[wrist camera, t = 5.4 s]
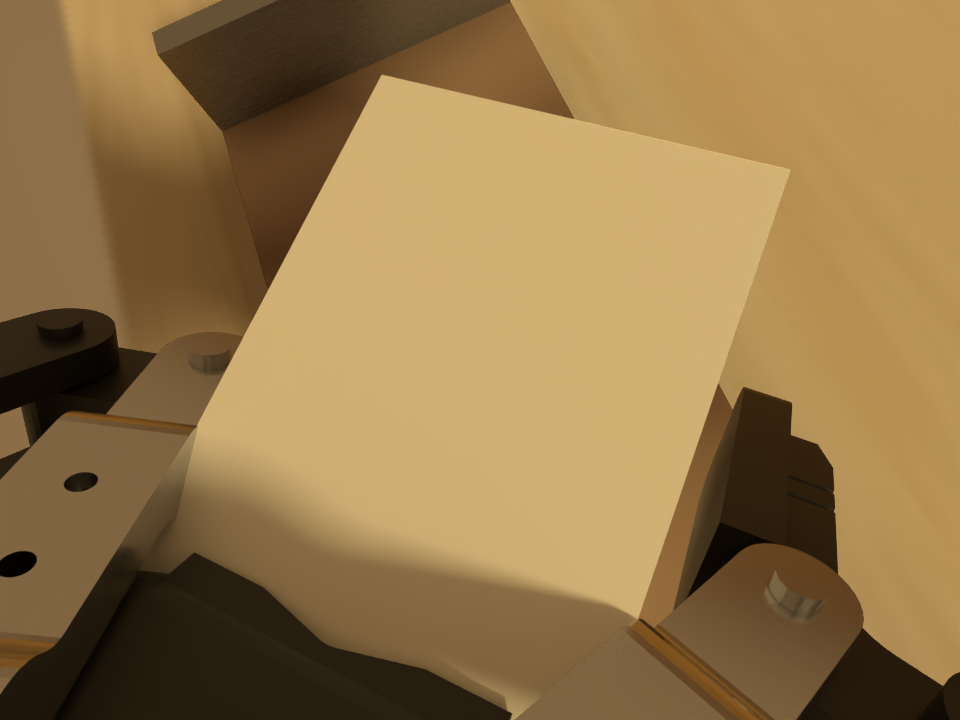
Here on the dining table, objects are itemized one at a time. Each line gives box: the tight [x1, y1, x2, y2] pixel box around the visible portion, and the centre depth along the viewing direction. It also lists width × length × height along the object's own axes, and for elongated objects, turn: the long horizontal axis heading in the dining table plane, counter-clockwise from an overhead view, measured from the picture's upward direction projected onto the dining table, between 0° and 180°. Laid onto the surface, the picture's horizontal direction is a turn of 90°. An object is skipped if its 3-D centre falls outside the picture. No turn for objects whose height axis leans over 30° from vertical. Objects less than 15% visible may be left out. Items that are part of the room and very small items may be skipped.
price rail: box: [152, 0, 510, 131], centre depth 18 cm, size 1×9×3 cm, turn 111°
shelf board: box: [223, 2, 733, 628], centre depth 16 cm, size 24×9×2 cm, turn 21°
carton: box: [139, 75, 791, 720], centre depth 10 cm, size 6×4×9 cm
